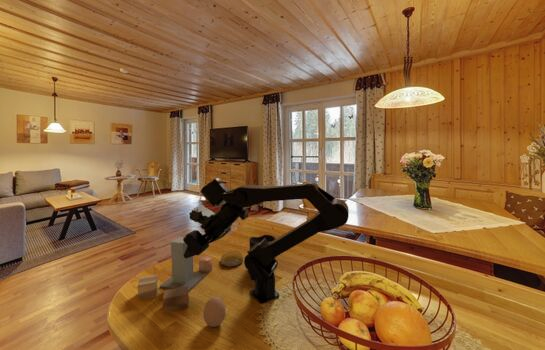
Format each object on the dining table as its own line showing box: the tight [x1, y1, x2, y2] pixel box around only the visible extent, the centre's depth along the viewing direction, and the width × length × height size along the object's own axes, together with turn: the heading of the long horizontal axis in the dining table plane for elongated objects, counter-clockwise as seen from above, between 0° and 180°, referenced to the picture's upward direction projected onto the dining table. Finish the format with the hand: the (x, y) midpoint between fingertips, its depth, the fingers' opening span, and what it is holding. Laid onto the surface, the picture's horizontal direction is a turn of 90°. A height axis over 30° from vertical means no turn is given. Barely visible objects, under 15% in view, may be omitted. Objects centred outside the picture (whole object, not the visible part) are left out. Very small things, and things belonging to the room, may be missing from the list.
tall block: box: [170, 236, 195, 284], centre depth 74 cm, size 4×4×13 cm
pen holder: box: [249, 234, 277, 250], centre depth 84 cm, size 9×9×10 cm
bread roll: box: [220, 248, 244, 267], centre depth 88 cm, size 8×9×4 cm
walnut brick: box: [162, 286, 190, 314], centre depth 63 cm, size 6×4×4 cm, turn 108°
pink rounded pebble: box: [198, 255, 213, 274], centre depth 82 cm, size 4×4×4 cm
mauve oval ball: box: [202, 296, 227, 328], centre depth 55 cm, size 5×5×7 cm
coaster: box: [159, 271, 207, 293], centre depth 75 cm, size 10×10×1 cm
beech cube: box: [137, 274, 159, 301], centre depth 68 cm, size 4×4×4 cm
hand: (193, 250), depth 73 cm, fingers open, 9 cm apart
